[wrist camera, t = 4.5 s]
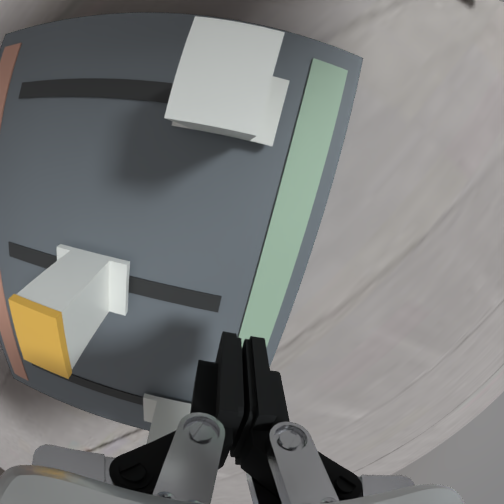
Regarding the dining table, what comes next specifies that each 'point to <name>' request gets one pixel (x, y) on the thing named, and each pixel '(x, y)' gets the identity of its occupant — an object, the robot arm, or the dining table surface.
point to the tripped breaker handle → (68, 307)
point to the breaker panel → (158, 199)
